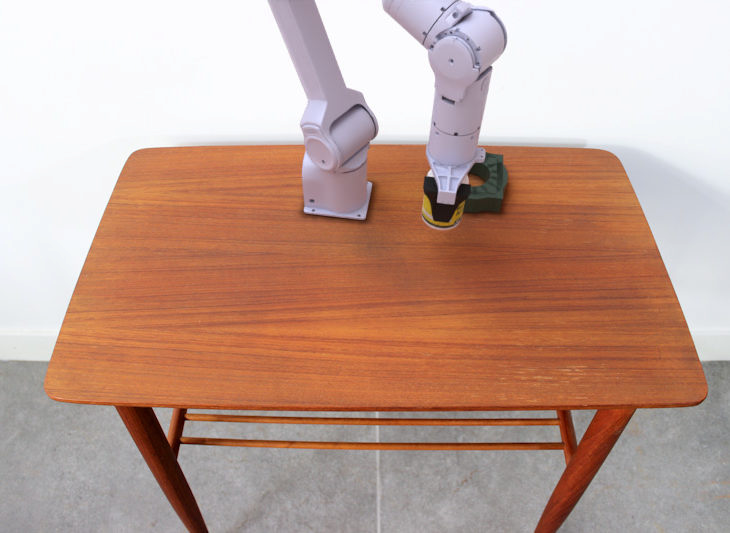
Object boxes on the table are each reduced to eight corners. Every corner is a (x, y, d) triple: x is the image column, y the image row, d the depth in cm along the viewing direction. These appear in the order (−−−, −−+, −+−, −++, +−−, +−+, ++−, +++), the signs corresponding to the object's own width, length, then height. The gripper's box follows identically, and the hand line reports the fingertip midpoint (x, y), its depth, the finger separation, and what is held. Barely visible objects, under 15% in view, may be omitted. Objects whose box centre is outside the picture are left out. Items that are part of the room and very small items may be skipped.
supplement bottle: (459, 235, 79) (470, 180, 71) (418, 228, 80) (425, 173, 72) (463, 206, 82) (474, 151, 75) (424, 199, 83) (431, 144, 75)
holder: (429, 208, 92) (431, 194, 90) (434, 158, 99) (436, 144, 97) (504, 216, 91) (507, 202, 89) (504, 166, 98) (507, 152, 96)
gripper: (490, 166, 64) (470, 249, 74) (493, 86, 72) (475, 170, 83) (423, 159, 64) (414, 242, 75) (435, 80, 73) (425, 164, 84)
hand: (443, 203), depth 79 cm, fingers closed on supplement bottle, 5 cm apart
